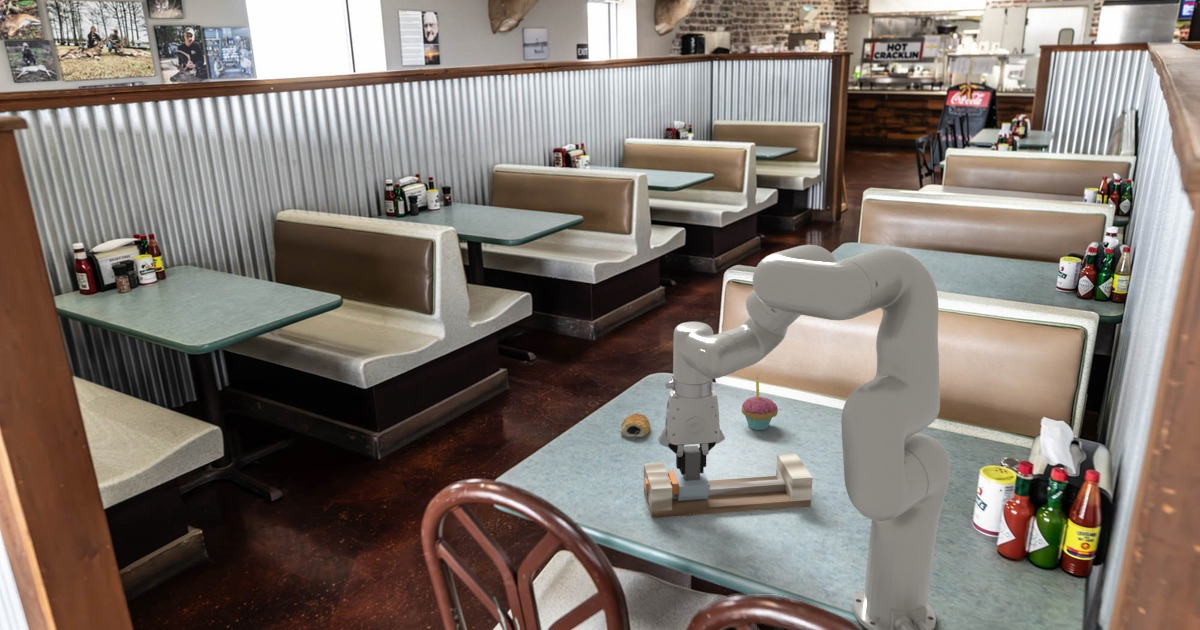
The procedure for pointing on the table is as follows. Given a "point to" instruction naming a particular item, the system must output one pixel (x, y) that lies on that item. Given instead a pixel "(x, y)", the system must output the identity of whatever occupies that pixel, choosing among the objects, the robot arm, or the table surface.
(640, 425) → the pastry
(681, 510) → the rail bench
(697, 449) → the carriage
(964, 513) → the table surface
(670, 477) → the button
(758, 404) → the cupcake
